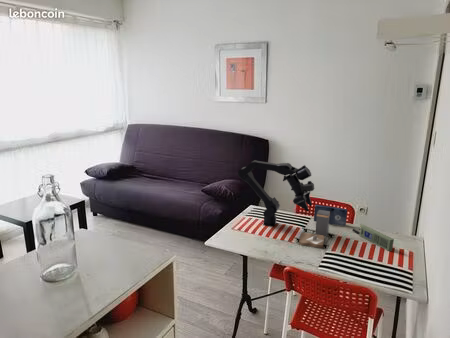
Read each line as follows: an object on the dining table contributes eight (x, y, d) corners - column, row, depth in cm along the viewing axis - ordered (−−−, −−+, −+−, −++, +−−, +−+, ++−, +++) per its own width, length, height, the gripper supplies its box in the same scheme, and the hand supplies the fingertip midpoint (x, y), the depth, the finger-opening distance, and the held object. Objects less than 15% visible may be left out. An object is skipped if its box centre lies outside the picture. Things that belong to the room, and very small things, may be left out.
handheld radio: (388, 252, 168) (350, 232, 190) (393, 251, 169) (354, 231, 191) (390, 239, 166) (352, 221, 188) (395, 238, 168) (356, 220, 190)
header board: (298, 244, 175) (299, 237, 174) (301, 234, 186) (301, 227, 185) (322, 248, 171) (323, 240, 170) (324, 238, 182) (324, 231, 181)
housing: (315, 234, 186) (316, 213, 183) (317, 230, 192) (318, 209, 188) (326, 236, 184) (328, 215, 181) (328, 232, 189) (330, 211, 186)
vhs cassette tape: (346, 224, 200) (347, 209, 197) (345, 226, 197) (347, 210, 194) (314, 219, 207) (315, 204, 205) (313, 221, 205) (314, 205, 202)
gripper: (304, 182, 176) (320, 207, 176) (311, 173, 193) (325, 197, 193) (286, 191, 181) (301, 216, 181) (294, 182, 198) (308, 205, 198)
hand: (309, 208), depth 188 cm, fingers open, 9 cm apart
